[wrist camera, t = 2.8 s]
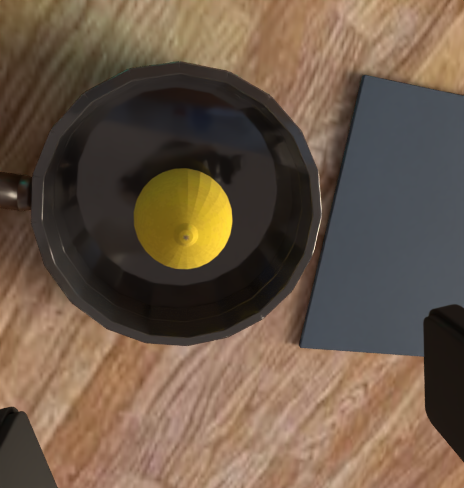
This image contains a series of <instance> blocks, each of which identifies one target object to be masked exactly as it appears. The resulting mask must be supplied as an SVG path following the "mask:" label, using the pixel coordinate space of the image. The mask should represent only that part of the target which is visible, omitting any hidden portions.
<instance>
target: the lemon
mask: <svg viewBox="0 0 464 488" xmlns="http://www.w3.org/2000/svg"><path fill="white" fill-rule="evenodd" d="M134 227H135V231H136V234H137V237H138V240H139V241H140V243H141V245H142V246H143V248H144V250H145V251H146V252H147V253H148V254H149V255H150V256H151V257H152V258H153V259H154V260H156V261H158V262H160V263H161V264H163V265H165V266H168V267H171V268H175V269H191V268H197V267H200V266H202V265H204V264H206V263H209V262H210V261H211V260H212V259H214V258H215V257H216V256H218V254H219V253H220V252H221V251H222V249H223V248H224V247H225V245H226V243H227V241H228V238H229V236H230V233H231V227H232V210H231V206H230V203H229V200H228V197H227V195H226V194H225V192H224V191H223V189H222V188H221V186H220V185H219V184H218V183H217V182H216V181H214V180H213V179H212V178H211V177H210V176H208V175H206V174H204V173H202V172H200V171H197V170H192V169H187V168H182V169H172V170H169V171H165V172H162V173H161V174H159V175H157V176H156V177H154V178H153V179H151V180H150V181H149V182H148V183H147V185H146V186H145V187H144V188H143V189H142V191H141V193H140V195H139V197H138V198H137V201H136V205H135V209H134Z"/></svg>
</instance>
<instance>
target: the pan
mask: <svg viewBox="0 0 464 488" xmlns="http://www.w3.org/2000/svg"><path fill="white" fill-rule="evenodd" d="M182 168H187V169H192V170H197V171H200V172H202V173H204V174H206V175H208V176H210V177H211V178H212V179H213V180H214V181H216V182H217V183H218V184H219V185H220V186H221V188H222V189H223V191H224V192H225V194H226V195H227V197H228V200H229V203H230V206H231V210H232V227H231V233H230V236H229V238H228V241H227V243H226V245H225V247H224V248H223V249H222V251H221V252H220V253H219V254H218V256H216V257H215V258H214V259H212V260H211V261H210V262H209V263H206V264H204V265H202V266H200V267H197V268H191V269H175V268H171V267H168V266H165V265H163V264H161V263H160V262H158V261H156V260H154V259H153V258H152V257H151V256H150V255H149V254H148V253H147V252H146V251H145V250H144V248H143V246H142V245H141V243H140V241H139V240H138V237H137V234H136V231H135V227H134V209H135V205H136V201H137V198H138V197H139V195H140V193H141V191H142V189H143V188H144V187H145V186H146V185H147V183H148V182H149V181H150V180H151V179H153V178H154V177H156V176H157V175H159V174H161V173H162V172H165V171H169V170H172V169H182ZM321 218H322V207H321V194H320V182H319V173H318V169H317V167H316V164H315V162H314V159H313V157H312V155H311V152H310V150H309V147H308V145H307V143H306V140H305V138H304V135H303V133H302V131H301V130H300V129H299V127H298V126H297V125H296V124H295V123H294V122H293V120H292V119H291V118H290V117H289V116H288V115H287V114H286V112H285V111H284V110H283V109H282V108H281V107H280V106H279V104H278V103H277V102H276V101H275V100H274V99H273V97H271V96H270V95H269V94H267V93H266V92H264V91H262V90H260V89H259V88H257V87H255V86H254V85H252V84H250V83H248V82H247V81H245V80H243V79H242V78H240V77H238V76H236V75H235V74H233V73H231V72H228V71H226V70H221V69H216V68H211V67H206V66H201V65H196V64H191V63H186V62H179V61H177V62H170V63H163V64H156V65H149V66H142V67H135V68H130V69H127V70H125V71H123V72H121V73H119V74H117V75H116V76H114V77H112V78H110V79H108V80H106V81H104V82H102V83H101V84H99V85H97V86H95V87H93V88H91V89H89V90H87V91H85V92H84V93H83V94H82V95H81V96H80V97H79V98H78V99H77V100H76V102H75V103H74V104H73V105H72V106H71V107H70V108H69V109H68V111H67V112H66V113H65V114H64V115H63V116H62V117H61V118H60V119H59V121H58V122H57V123H56V124H55V125H54V126H53V127H52V128H51V130H50V132H49V134H48V137H47V139H46V142H45V144H44V147H43V149H42V152H41V154H40V157H39V159H38V162H37V164H36V167H35V169H34V172H33V176H32V201H31V225H32V228H33V231H34V234H35V238H36V241H37V244H38V247H39V250H40V253H41V257H42V260H43V263H44V266H45V267H46V269H47V270H48V271H49V273H50V274H51V276H52V277H53V278H54V280H55V281H56V282H57V284H58V285H59V287H60V288H61V289H62V291H63V292H64V294H65V295H66V296H67V298H68V299H69V300H70V302H72V304H74V305H75V306H76V307H78V308H79V309H80V310H82V311H83V312H84V313H86V314H87V315H88V316H90V317H91V318H92V319H94V320H95V321H97V322H98V323H99V324H101V325H102V326H103V327H105V328H106V329H108V330H111V331H114V332H116V333H119V334H122V335H125V336H127V337H130V338H133V339H136V340H138V341H141V342H144V343H151V344H165V345H180V346H187V345H188V346H190V345H195V344H199V343H204V342H209V341H214V340H218V339H223V338H227V337H230V336H232V335H234V334H235V333H237V332H239V331H241V330H243V329H245V328H247V327H249V326H251V325H253V324H255V323H256V322H258V321H260V320H262V319H263V318H265V317H266V316H267V315H268V314H269V313H270V312H271V311H272V310H273V309H274V308H275V307H276V306H277V305H278V304H279V303H280V302H281V301H282V300H283V299H285V298H286V297H287V296H288V295H289V294H290V293H291V292H292V290H293V289H294V287H295V286H296V284H297V282H298V280H299V279H300V277H301V275H302V274H303V272H304V270H305V268H306V267H307V265H308V263H309V261H310V260H311V258H312V255H313V253H314V248H315V244H316V240H317V235H318V231H319V226H320V222H321Z"/></svg>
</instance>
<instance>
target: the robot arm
mask: <svg viewBox="0 0 464 488" xmlns="http://www.w3.org/2000/svg"><path fill="white" fill-rule="evenodd" d="M423 332H424V380H425V410H426V413H427V416H428V418H429V420H430V422H431V423H432V425H433V426H434V427H435V428H436V429H437V431H438V432H439V433H440V434H441V435H442V437H443V438H444V439H445V440H446V441H447V443H448V444H449V445H450V446H451V447H452V449H453V450H454V451H455V452H456V453H457V455H458V456H459V457H460V458H461V459H462V461H463V462H464V308H463V307H461V306H460V305H457V304H452V305H448V306H443V307H439V308H435V309H432V310H430V312H429V316H428V317H425V318H424V322H423ZM0 488H58V487H57V485H56V483H55V480H54V478H53V476H52V473H51V471H50V469H49V466H48V464H47V462H46V459H45V457H44V454H43V452H42V450H41V447H40V445H39V443H38V440H37V438H36V436H35V433H34V431H33V428H32V426H31V424H30V421H29V419H28V417H27V415H26V413H25V412H23V411H20V412H18V410H17V409H16V408H15V407H8V408H3V409H0Z"/></svg>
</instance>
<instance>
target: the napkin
mask: <svg viewBox="0 0 464 488" xmlns="http://www.w3.org/2000/svg"><path fill="white" fill-rule="evenodd" d="M452 304H457V305H460V306H461V307H463V308H464V96H463V95H458V94H453V93H449V92H444V91H439V90H434V89H430V88H425V87H420V86H415V85H411V84H406V83H401V82H396V81H392V80H387V79H382V78H377V77H373V76H368V75H363V76H362V79H361V83H360V87H359V92H358V96H357V100H356V104H355V109H354V113H353V117H352V121H351V126H350V130H349V134H348V138H347V143H346V147H345V151H344V156H343V160H342V164H341V168H340V173H339V177H338V181H337V185H336V190H335V194H334V198H333V202H332V207H331V211H330V215H329V219H328V224H327V228H326V232H325V236H324V241H323V245H322V249H321V253H320V258H319V262H318V266H317V270H316V275H315V279H314V283H313V288H312V292H311V296H310V300H309V305H308V309H307V313H306V317H305V322H304V326H303V330H302V334H301V339H300V343H299V346H300V348H311V349H325V350H339V351H353V352H367V353H381V354H395V355H409V356H423V357H424V332H423V322H424V318H425V317H428V316H429V312H430V310H432V309H435V308H439V307H443V306H448V305H452Z"/></svg>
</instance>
